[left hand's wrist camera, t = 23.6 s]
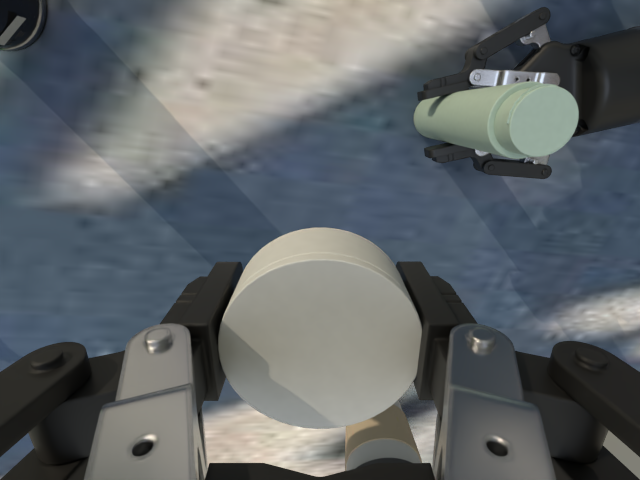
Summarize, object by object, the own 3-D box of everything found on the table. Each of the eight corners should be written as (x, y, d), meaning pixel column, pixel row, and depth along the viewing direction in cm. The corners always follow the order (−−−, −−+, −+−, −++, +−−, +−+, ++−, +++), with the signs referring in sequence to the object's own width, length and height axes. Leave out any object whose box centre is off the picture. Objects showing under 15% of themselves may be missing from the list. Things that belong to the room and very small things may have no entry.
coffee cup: (412, 415, 51) (446, 533, 36) (351, 431, 52) (360, 551, 38) (395, 365, 48) (424, 472, 34) (330, 383, 49) (332, 494, 35)
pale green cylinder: (458, 97, 37) (598, 83, 18) (449, 140, 38) (569, 167, 20) (418, 92, 37) (516, 73, 18) (409, 135, 38) (493, 158, 19)
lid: (328, 397, 12) (330, 456, 10) (203, 313, 11) (177, 361, 9) (440, 298, 11) (468, 343, 9) (310, 189, 10) (308, 214, 8)
